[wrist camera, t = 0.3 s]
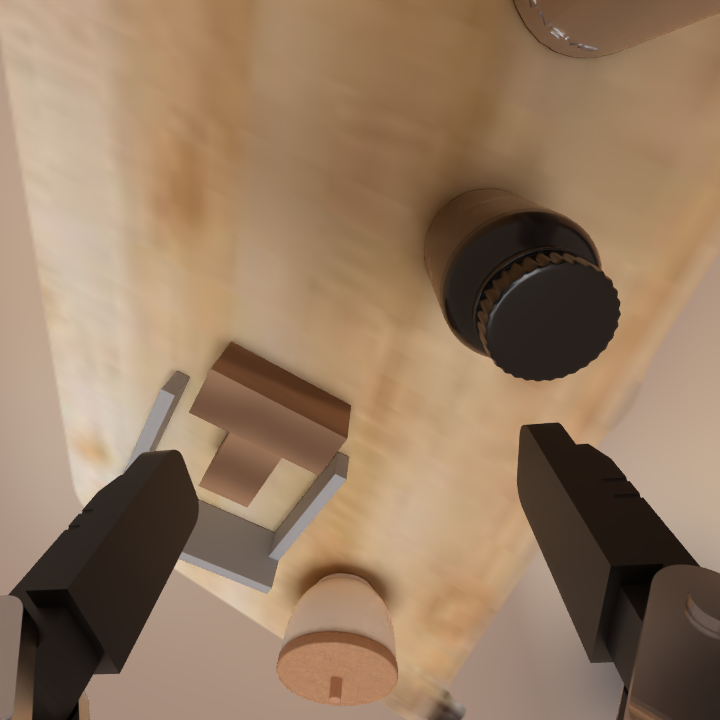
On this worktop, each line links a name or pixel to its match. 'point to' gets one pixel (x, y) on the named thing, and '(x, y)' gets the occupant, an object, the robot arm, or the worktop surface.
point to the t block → (265, 423)
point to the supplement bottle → (520, 284)
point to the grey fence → (228, 532)
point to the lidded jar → (339, 644)
